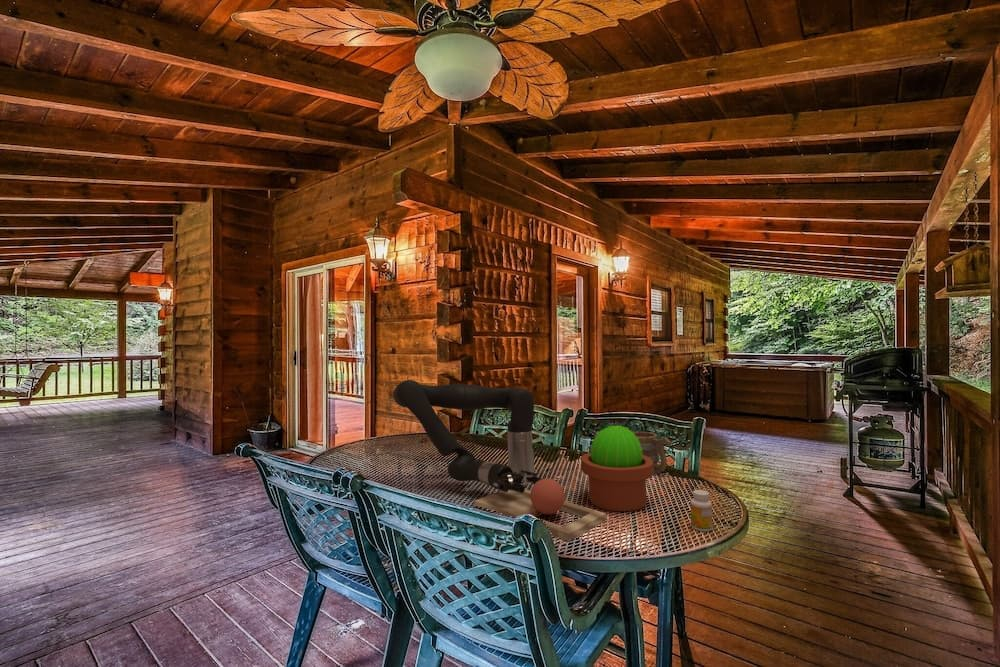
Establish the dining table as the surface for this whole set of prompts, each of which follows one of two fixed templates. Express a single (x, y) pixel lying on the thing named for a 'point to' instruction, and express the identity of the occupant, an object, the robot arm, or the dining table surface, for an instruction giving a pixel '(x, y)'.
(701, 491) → the supplement bottle
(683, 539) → the dining table surface
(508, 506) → the board
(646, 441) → the tankard
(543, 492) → the ball
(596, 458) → the potted cactus
